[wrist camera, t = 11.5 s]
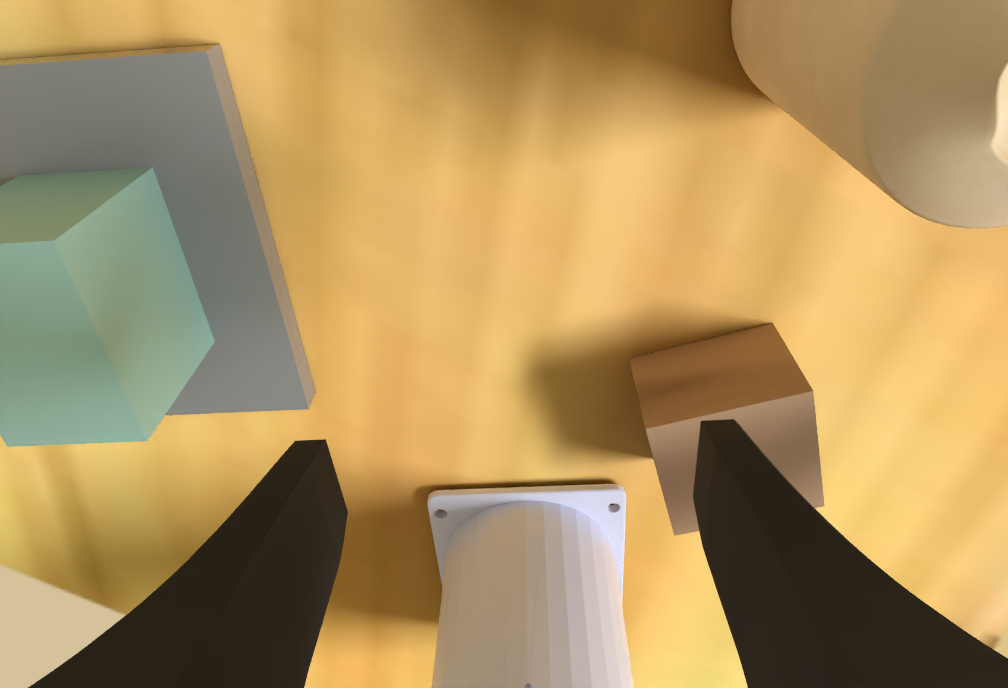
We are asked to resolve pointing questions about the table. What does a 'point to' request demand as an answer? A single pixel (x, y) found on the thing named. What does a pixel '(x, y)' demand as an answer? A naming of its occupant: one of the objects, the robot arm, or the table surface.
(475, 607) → the robot arm
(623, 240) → the table surface
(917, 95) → the candle
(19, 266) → the teal brick
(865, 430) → the table surface
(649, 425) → the walnut block
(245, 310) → the slate board
